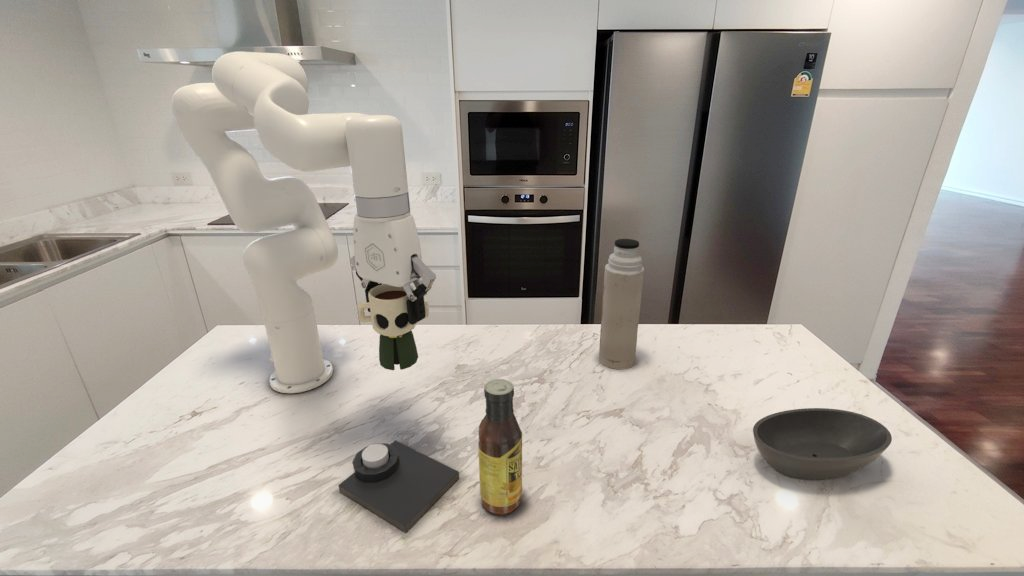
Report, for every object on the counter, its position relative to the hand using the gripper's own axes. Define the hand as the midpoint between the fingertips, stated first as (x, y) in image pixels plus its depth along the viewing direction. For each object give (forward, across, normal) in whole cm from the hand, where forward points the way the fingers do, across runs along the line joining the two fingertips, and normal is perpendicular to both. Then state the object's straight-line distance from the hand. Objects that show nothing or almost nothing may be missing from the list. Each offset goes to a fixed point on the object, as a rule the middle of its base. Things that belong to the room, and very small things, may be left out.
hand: (396, 314), depth 76 cm
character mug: (+9, 0, 0) cm, 9 cm away
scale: (+24, +6, -9) cm, 27 cm away
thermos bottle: (+25, +22, +44) cm, 55 cm away
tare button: (+22, +1, -9) cm, 24 cm away
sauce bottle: (+25, +21, -4) cm, 33 cm away
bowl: (+25, +61, +29) cm, 72 cm away
